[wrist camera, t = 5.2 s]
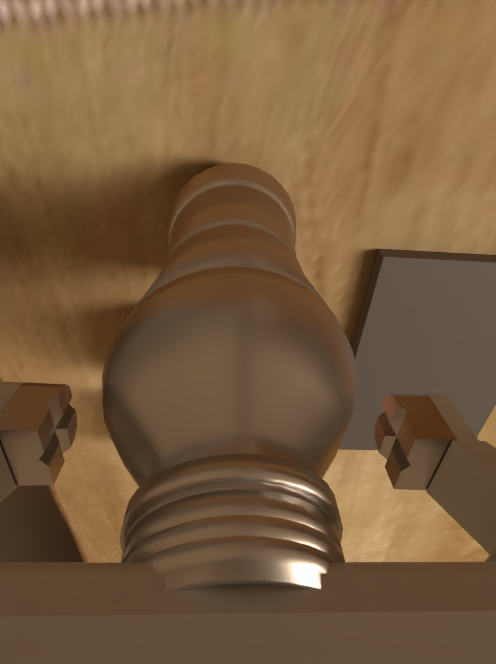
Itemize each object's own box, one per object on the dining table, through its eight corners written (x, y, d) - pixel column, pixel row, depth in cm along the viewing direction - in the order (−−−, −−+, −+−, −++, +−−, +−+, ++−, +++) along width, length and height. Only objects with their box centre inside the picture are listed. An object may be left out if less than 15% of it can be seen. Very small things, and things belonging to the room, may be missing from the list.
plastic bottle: (309, 230, 23) (517, 644, 6) (215, 287, 25) (186, 723, 8) (251, 126, 20) (361, 411, 3) (148, 200, 22) (-120, 625, 5)
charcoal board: (377, 249, 24) (383, 256, 23) (561, 258, 25) (575, 266, 24) (326, 437, 33) (329, 449, 32) (461, 440, 34) (468, 451, 33)
